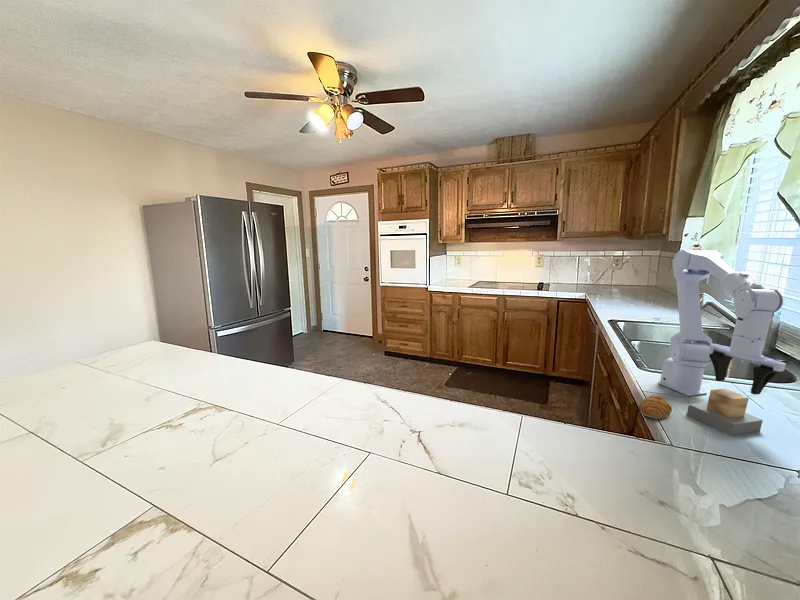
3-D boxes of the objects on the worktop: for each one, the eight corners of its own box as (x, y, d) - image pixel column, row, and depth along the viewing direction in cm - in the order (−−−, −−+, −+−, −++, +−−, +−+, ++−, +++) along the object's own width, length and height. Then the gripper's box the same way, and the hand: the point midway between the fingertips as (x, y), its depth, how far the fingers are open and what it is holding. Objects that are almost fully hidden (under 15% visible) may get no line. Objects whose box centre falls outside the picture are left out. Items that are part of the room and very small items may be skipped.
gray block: (686, 414, 89) (688, 404, 89) (713, 410, 92) (715, 400, 91) (731, 435, 80) (733, 424, 79) (759, 431, 82) (762, 420, 82)
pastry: (665, 425, 84) (668, 411, 83) (634, 414, 89) (636, 401, 88) (671, 412, 90) (674, 399, 90) (641, 403, 95) (644, 391, 94)
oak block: (706, 407, 87) (710, 389, 86) (721, 406, 88) (725, 388, 87) (728, 417, 82) (733, 399, 81) (744, 416, 83) (748, 397, 82)
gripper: (800, 344, 77) (785, 398, 79) (726, 327, 91) (716, 374, 93) (778, 346, 75) (764, 401, 78) (707, 328, 89) (697, 376, 92)
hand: (736, 386), depth 85 cm, fingers open, 7 cm apart
